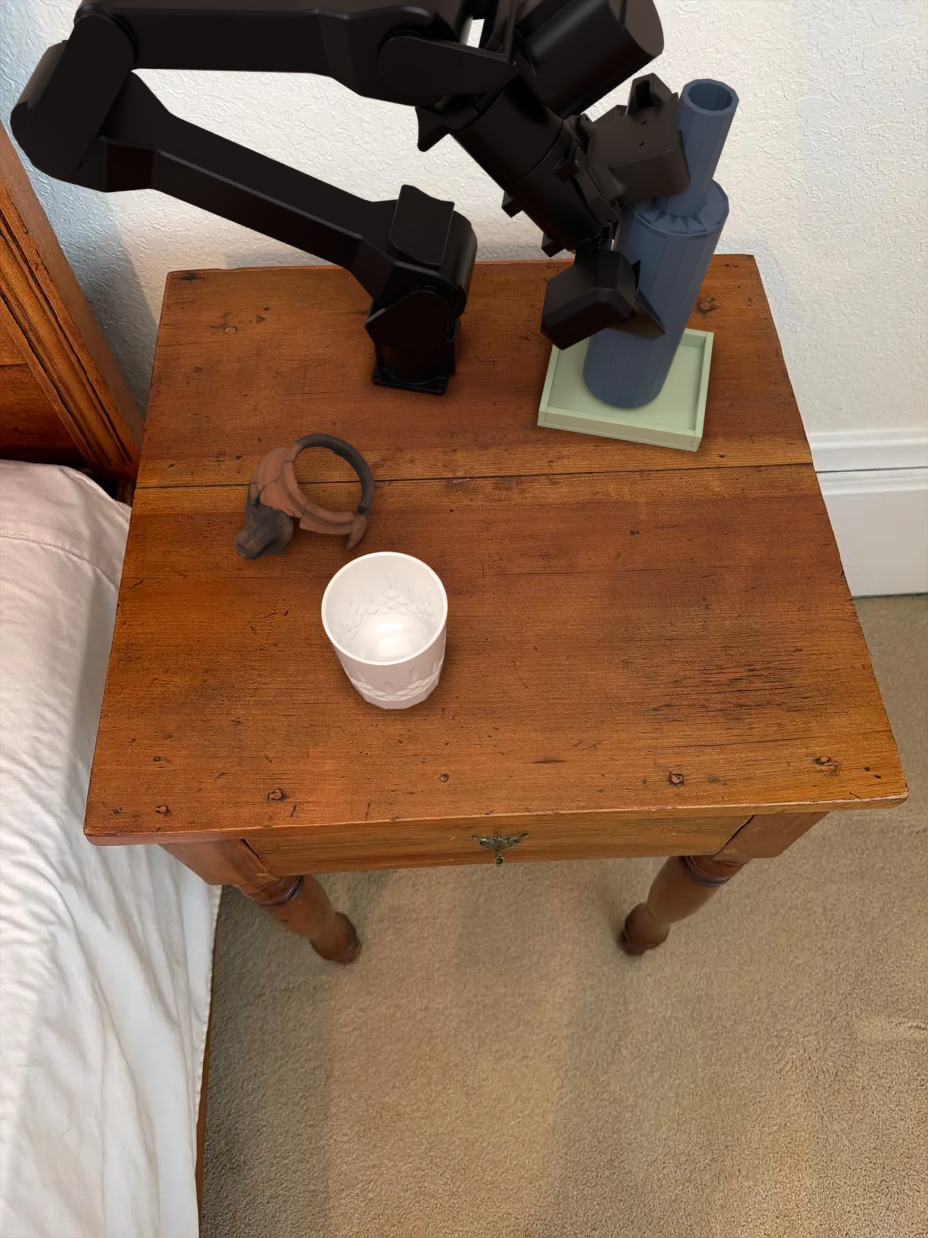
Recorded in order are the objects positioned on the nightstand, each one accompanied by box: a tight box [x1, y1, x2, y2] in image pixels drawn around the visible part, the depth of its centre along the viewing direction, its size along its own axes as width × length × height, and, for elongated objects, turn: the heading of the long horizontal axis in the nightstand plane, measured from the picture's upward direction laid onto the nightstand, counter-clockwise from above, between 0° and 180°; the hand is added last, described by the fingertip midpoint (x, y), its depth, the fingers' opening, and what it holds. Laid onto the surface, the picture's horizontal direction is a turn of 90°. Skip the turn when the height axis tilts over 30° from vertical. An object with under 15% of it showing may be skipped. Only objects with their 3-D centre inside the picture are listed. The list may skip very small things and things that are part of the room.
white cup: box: [320, 551, 449, 710], centre depth 60 cm, size 8×8×10 cm
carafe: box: [583, 78, 740, 408], centre depth 63 cm, size 7×7×24 cm
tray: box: [536, 327, 715, 453], centre depth 74 cm, size 13×11×2 cm
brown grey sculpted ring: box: [232, 432, 376, 561], centre depth 67 cm, size 12×10×8 cm
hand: (663, 298), depth 66 cm, fingers closed on carafe, 7 cm apart
